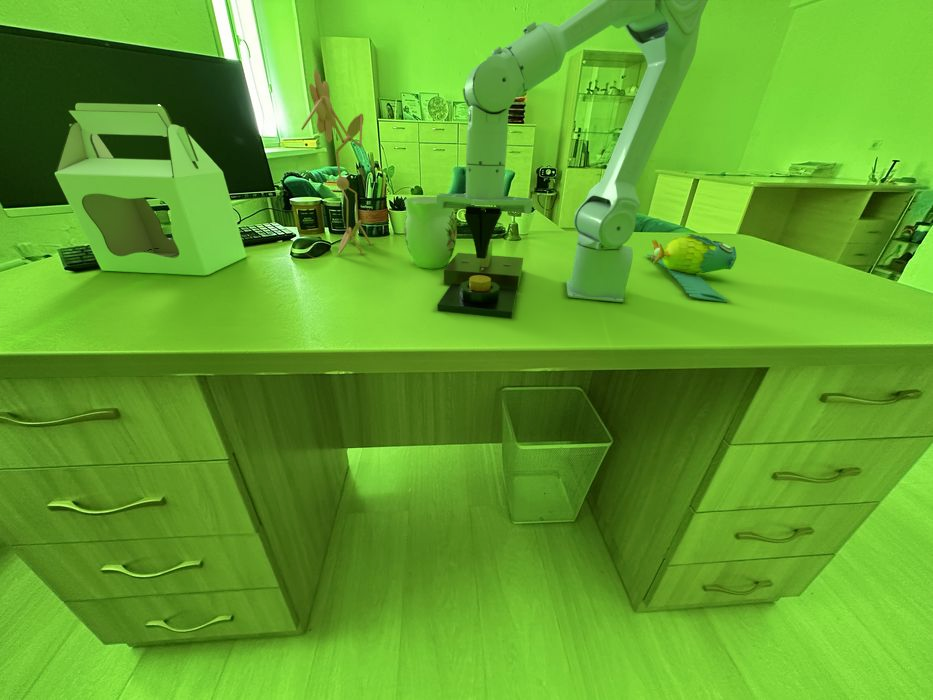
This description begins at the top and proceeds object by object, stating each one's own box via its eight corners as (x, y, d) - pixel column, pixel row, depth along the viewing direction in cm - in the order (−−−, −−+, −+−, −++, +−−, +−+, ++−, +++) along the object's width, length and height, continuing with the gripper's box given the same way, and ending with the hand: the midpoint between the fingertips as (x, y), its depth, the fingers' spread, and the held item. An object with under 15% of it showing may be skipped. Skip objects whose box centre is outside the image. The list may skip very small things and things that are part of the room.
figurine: (381, 237, 101) (366, 80, 84) (358, 265, 79) (331, 60, 62) (325, 235, 101) (299, 79, 84) (286, 263, 79) (239, 57, 61)
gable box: (99, 271, 72) (15, 99, 58) (154, 252, 84) (94, 105, 70) (208, 276, 71) (148, 102, 57) (248, 257, 82) (206, 108, 68)
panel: (521, 271, 78) (523, 256, 76) (517, 291, 68) (519, 275, 66) (457, 266, 80) (457, 251, 79) (443, 284, 70) (443, 268, 68)
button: (491, 285, 63) (492, 276, 62) (488, 293, 60) (489, 283, 59) (471, 284, 63) (471, 274, 62) (467, 291, 60) (467, 281, 59)
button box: (516, 295, 66) (518, 279, 64) (511, 318, 58) (513, 300, 56) (451, 289, 68) (451, 273, 66) (437, 311, 59) (437, 293, 58)
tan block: (483, 258, 75) (484, 237, 73) (491, 259, 75) (492, 238, 72) (479, 266, 70) (480, 244, 68) (487, 267, 70) (488, 245, 68)
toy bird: (640, 218, 86) (708, 223, 85) (630, 255, 90) (695, 260, 89) (686, 249, 62) (782, 257, 61) (669, 297, 66) (758, 305, 65)
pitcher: (461, 253, 89) (462, 192, 82) (451, 277, 74) (451, 204, 67) (416, 250, 90) (414, 190, 83) (397, 274, 75) (392, 202, 68)
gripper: (430, 164, 51) (432, 259, 58) (534, 168, 49) (524, 267, 56) (443, 161, 57) (443, 248, 64) (536, 165, 55) (527, 255, 62)
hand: (481, 256), depth 60 cm, fingers closed
